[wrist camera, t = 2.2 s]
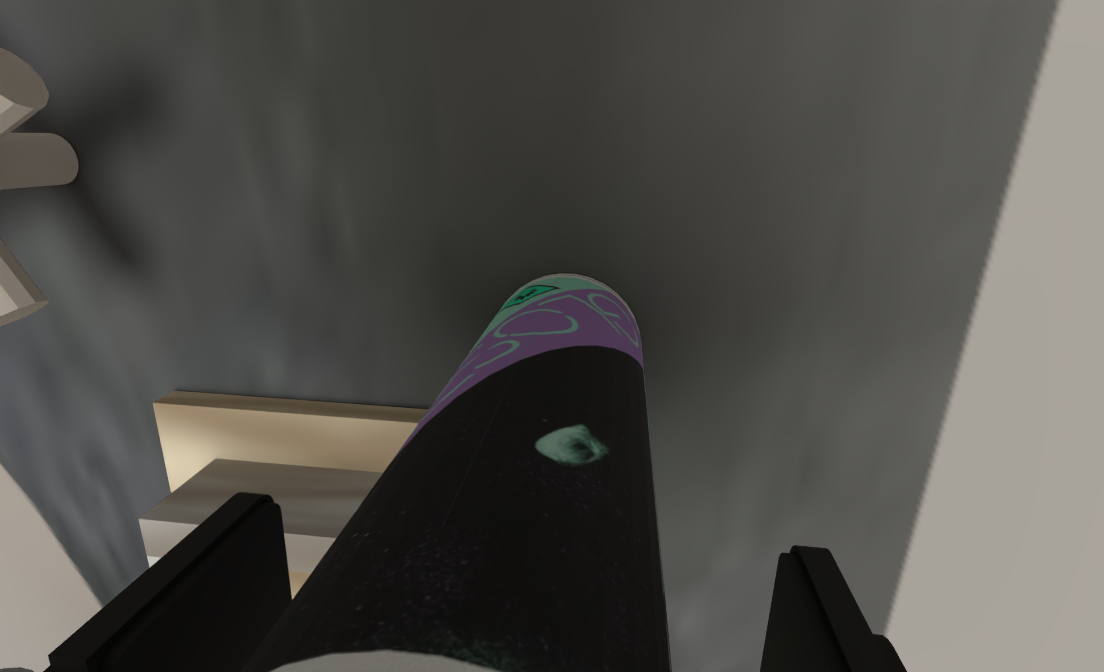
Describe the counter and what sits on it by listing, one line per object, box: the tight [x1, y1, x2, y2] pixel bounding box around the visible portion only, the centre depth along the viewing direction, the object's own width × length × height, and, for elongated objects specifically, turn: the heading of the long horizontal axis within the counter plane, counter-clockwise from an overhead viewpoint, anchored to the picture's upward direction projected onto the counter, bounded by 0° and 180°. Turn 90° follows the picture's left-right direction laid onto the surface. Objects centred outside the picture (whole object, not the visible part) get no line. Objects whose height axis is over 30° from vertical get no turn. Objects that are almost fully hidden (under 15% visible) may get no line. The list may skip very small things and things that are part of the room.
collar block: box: [139, 391, 429, 599], centre depth 23 cm, size 14×14×5 cm
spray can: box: [241, 273, 672, 672], centre depth 12 cm, size 6×6×20 cm
